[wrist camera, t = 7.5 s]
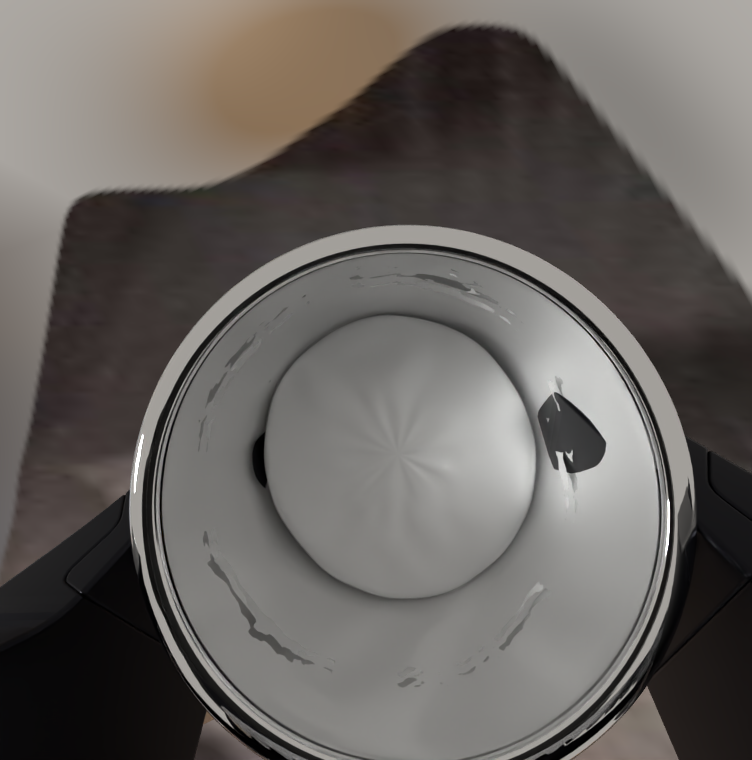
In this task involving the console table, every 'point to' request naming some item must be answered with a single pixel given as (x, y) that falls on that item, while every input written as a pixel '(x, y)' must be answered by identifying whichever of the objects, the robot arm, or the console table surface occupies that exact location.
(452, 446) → the beer glass
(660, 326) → the console table surface
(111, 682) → the robot arm
